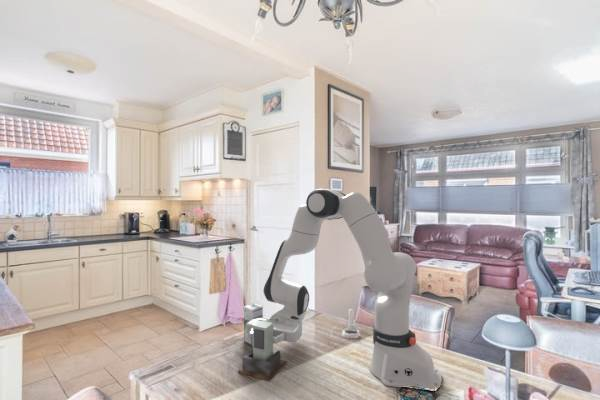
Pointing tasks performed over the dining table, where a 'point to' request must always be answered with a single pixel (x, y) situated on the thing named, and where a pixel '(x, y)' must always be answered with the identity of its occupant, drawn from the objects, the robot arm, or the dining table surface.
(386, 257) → the robot arm
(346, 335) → the white vr controller
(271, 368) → the bracket socket
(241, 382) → the dining table surface
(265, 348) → the pale green block
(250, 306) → the syrup box
